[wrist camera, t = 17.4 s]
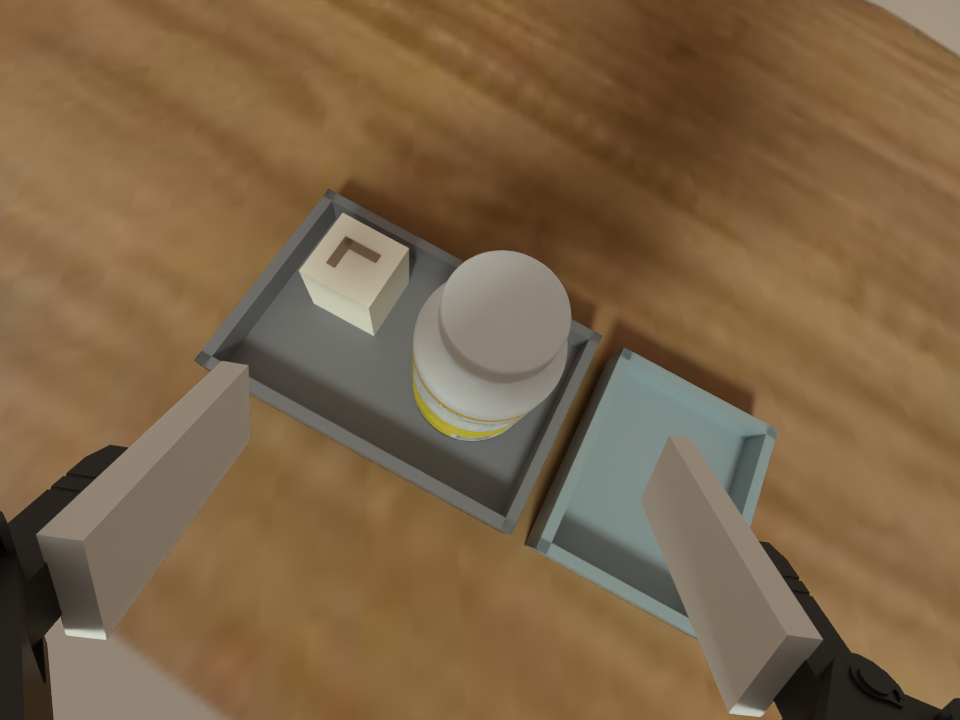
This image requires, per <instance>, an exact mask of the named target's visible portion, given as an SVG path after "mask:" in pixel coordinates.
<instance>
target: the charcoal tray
mask: <svg viewBox="0 0 960 720" xmlns="http://www.w3.org/2000/svg"><path fill="white" fill-rule="evenodd" d="M342 213H344V214H346V215H348V216H350V217H352V218H354V219H355V220H357V221H359V222H361V223H363V224H365V225H367V226H368V227H370V228H372V229H374V230H376V231H378V232H380V233H381V234H383V235H385V236H387V237H389V238H391V239H393V240H395V241H396V242H398V243H400V244H402V245H404V246H406V247H408V248H409V284H408V285H407V287H406V288H405V290H404V291H403V293H402V294H401V296H400V297H399V299H398V300H397V302H396V304H395V305H394V307H393V308H392V310H391V311H390V313H389V314H388V316H387V317H386V319H385V320H384V322H383V323H382V325H381V327H380V328H379V330H378V331H377V333H376V334H375V336H373V335H371V334H369V333H367V332H365V331H364V330H362V329H360V328H358V327H356V326H354V325H352V324H351V323H349V322H347V321H345V320H343V319H341V318H340V317H338V316H336V315H334V314H332V313H330V312H329V311H327V310H325V309H323V308H321V307H319V306H317V305H316V304H314V303H313V301H312V299H311V296H310V294H309V292H308V290H307V288H306V285H305V283H304V281H303V279H302V277H301V274H300V272H299V270H300V268H301V267H302V266H303V264H304V263H305V262H306V261H307V259H308V258H309V257H310V255H311V254H312V253H313V251H314V250H315V249H316V247H317V246H318V245H319V243H320V242H321V241H322V239H323V238H324V237H325V235H326V234H327V233H328V231H329V230H330V229H331V227H332V226H333V225H334V224H335V222H336V221H337V220H338V218H339V217H340V216H341V214H342ZM462 263H464V261H462V260H460V259H458V258H457V257H455V256H453V255H451V254H449V253H447V252H445V251H444V250H442V249H440V248H438V247H436V246H434V245H432V244H431V243H429V242H427V241H425V240H423V239H421V238H419V237H417V236H416V235H414V234H412V233H410V232H408V231H406V230H404V229H403V228H401V227H399V226H397V225H395V224H393V223H391V222H389V221H388V220H386V219H384V218H382V217H380V216H378V215H376V214H375V213H373V212H371V211H369V210H367V209H365V208H363V207H362V206H360V205H358V204H356V203H354V202H352V201H350V200H348V199H347V198H345V197H343V196H341V195H339V194H337V193H335V192H334V191H332V190H330V189H328V191H327V192H326V193H325V195H324V196H323V197H322V198H321V200H320V201H319V202H318V203H317V205H316V206H315V207H314V208H313V210H312V211H311V212H310V214H309V215H308V216H307V217H306V219H305V220H304V221H303V222H302V224H301V225H300V226H299V228H298V229H297V230H296V231H295V233H294V234H293V235H292V236H291V238H290V239H289V240H288V242H287V243H286V244H285V245H284V247H283V248H282V249H281V250H280V252H279V253H278V254H277V256H276V257H275V258H274V259H273V261H272V262H271V263H270V264H269V266H268V267H267V268H266V270H265V271H264V272H263V273H262V275H261V276H260V277H259V278H258V280H257V281H256V282H255V283H254V285H253V286H252V287H251V289H250V290H249V291H248V292H247V294H246V295H245V296H244V297H243V299H242V300H241V301H240V303H239V304H238V305H237V306H236V308H235V309H234V310H233V311H232V313H231V314H230V315H229V317H228V318H227V319H226V320H225V322H224V323H223V324H222V325H221V327H220V328H219V329H218V331H217V332H216V333H215V334H214V336H213V337H212V338H211V339H210V341H209V342H208V343H207V345H206V346H205V347H204V348H203V350H202V351H201V352H200V353H199V355H198V356H197V357H196V358H195V360H194V361H195V362H197V363H198V364H200V365H201V366H202V367H204V368H205V369H207V370H208V371H209V372H210V371H212V370H213V369H214V368H215V367H216V366H217V365H218V364H219V363H220V362H221V361H226V362H232V363H238V364H244V365H248V368H249V394H250V395H252V396H254V397H256V398H258V399H259V400H261V401H263V402H265V403H267V404H268V405H270V406H272V407H274V408H276V409H278V410H279V411H281V412H283V413H285V414H287V415H288V416H290V417H292V418H294V419H296V420H298V421H299V422H301V423H303V424H305V425H307V426H308V427H310V428H312V429H314V430H316V431H318V432H319V433H321V434H323V435H325V436H327V437H328V438H330V439H332V440H334V441H336V442H338V443H339V444H341V445H343V446H345V447H347V448H348V449H350V450H352V451H354V452H356V453H358V454H359V455H361V456H363V457H365V458H367V459H369V460H370V461H372V462H374V463H376V464H378V465H379V466H381V467H383V468H385V469H387V470H389V471H390V472H392V473H394V474H396V475H398V476H399V477H401V478H403V479H405V480H407V481H409V482H410V483H412V484H414V485H416V486H418V487H419V488H421V489H423V490H425V491H427V492H429V493H430V494H432V495H434V496H436V497H438V498H439V499H441V500H443V501H445V502H447V503H449V504H450V505H452V506H454V507H456V508H458V509H459V510H461V511H463V512H465V513H467V514H469V515H470V516H472V517H474V518H476V519H478V520H479V521H481V522H483V523H485V524H487V525H489V526H490V527H492V528H494V529H496V530H498V531H499V532H501V533H505V534H510V535H511V534H512V532H513V530H514V527H515V525H516V523H517V521H518V519H519V517H520V514H521V512H522V510H523V508H524V506H525V504H526V501H527V499H528V497H529V495H530V493H531V490H532V488H533V486H534V484H535V482H536V480H537V477H538V475H539V473H540V471H541V469H542V467H543V464H544V462H545V460H546V458H547V456H548V454H549V451H550V449H551V447H552V445H553V443H554V440H555V438H556V436H557V434H558V432H559V430H560V427H561V425H562V423H563V421H564V419H565V417H566V414H567V412H568V410H569V408H570V406H571V403H572V401H573V399H574V397H575V395H576V393H577V390H578V388H579V386H580V384H581V382H582V380H583V377H584V375H585V373H586V371H587V369H588V366H589V364H590V362H591V360H592V358H593V356H594V353H595V351H596V349H597V347H598V345H599V343H600V340H601V338H602V335H600V334H598V333H596V332H595V331H593V330H591V329H589V328H587V327H585V326H583V325H582V324H580V323H578V322H576V321H574V320H572V319H571V327H570V332H569V335H568V338H567V343H568V351H567V360H566V364H565V368H564V371H563V374H562V376H561V378H560V380H559V382H558V384H557V385H556V387H555V388H554V390H553V391H552V392H551V393H550V394H549V396H548V397H547V398H546V399H545V400H544V401H542V402H541V403H540V404H539V405H537V406H536V407H535V408H533V409H532V410H531V411H530V412H528V413H527V414H526V415H524V416H523V417H522V418H521V419H519V420H518V421H517V422H516V423H514V424H513V425H512V426H511V427H510V428H509V429H507V430H506V431H505V432H503V433H502V434H500V435H499V436H496V437H494V438H492V439H489V440H485V441H480V442H463V441H458V440H454V439H451V438H448V437H446V436H444V435H442V434H441V433H439V432H437V431H436V430H435V429H434V428H432V427H431V426H430V425H429V424H428V423H427V421H426V420H425V419H424V418H423V416H422V415H421V413H420V411H419V409H418V407H417V405H416V401H415V398H414V393H413V336H414V329H415V324H416V321H417V318H418V315H419V313H420V311H421V309H422V307H423V305H424V304H425V302H426V301H427V300H428V298H429V297H430V296H431V295H432V293H433V292H434V291H435V290H437V289H438V288H439V287H440V286H441V285H443V284H444V283H445V282H447V281H448V279H449V277H450V276H451V274H452V273H453V272H454V271H455V270H456V269H457V268H458V267H459V266H460V265H461V264H462Z"/></svg>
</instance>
